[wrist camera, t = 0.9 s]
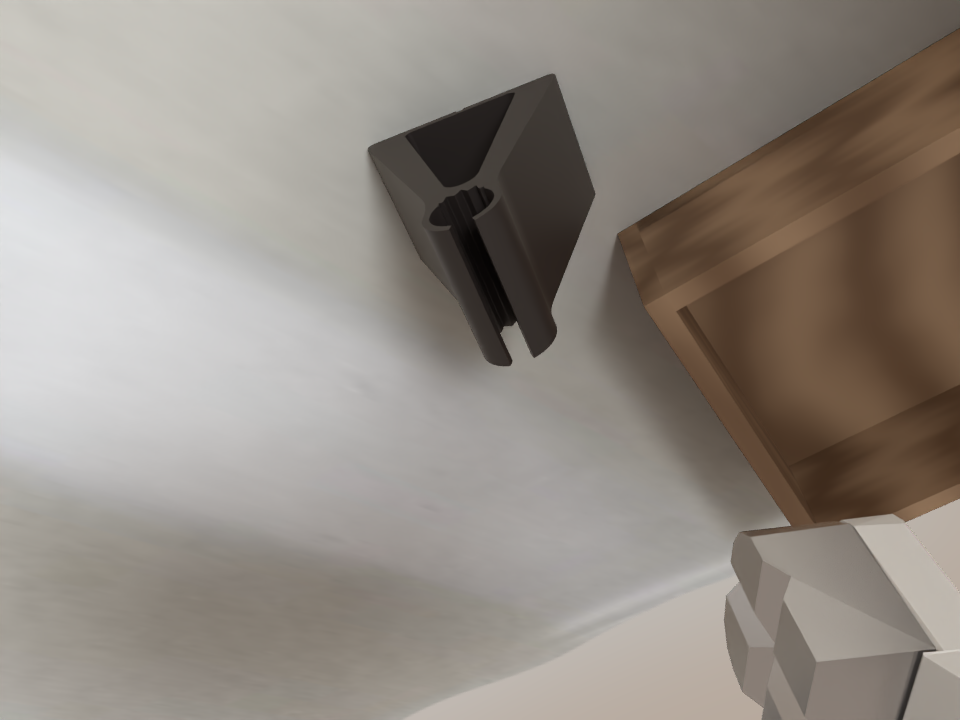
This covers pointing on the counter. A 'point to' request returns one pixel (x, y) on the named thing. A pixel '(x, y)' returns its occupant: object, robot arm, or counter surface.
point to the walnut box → (828, 297)
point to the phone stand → (494, 207)
